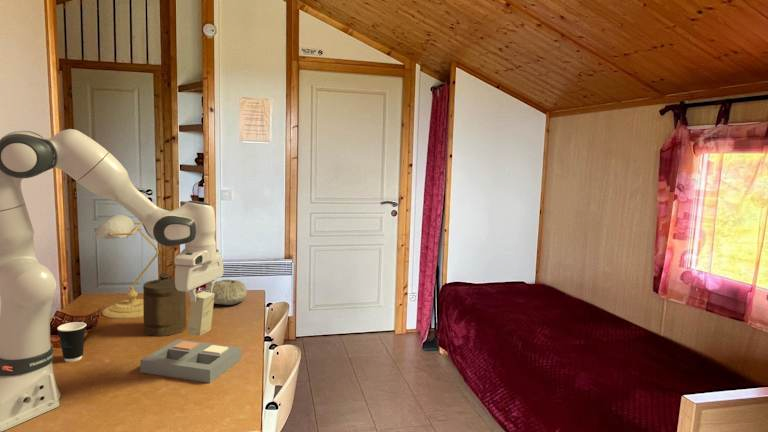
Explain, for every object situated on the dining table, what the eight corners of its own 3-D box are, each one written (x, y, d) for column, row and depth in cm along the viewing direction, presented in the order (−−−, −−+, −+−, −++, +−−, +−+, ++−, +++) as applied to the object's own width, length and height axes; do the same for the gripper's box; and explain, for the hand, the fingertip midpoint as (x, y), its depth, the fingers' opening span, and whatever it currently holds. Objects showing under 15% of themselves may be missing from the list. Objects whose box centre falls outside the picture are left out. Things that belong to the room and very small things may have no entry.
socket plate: (210, 382, 145) (209, 368, 145) (140, 372, 151) (140, 358, 150) (241, 359, 163) (241, 346, 162) (177, 350, 168) (177, 337, 167)
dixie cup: (88, 352, 164) (86, 320, 163) (87, 361, 157) (85, 328, 156) (59, 356, 160) (58, 323, 159) (57, 365, 153) (56, 331, 152)
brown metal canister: (170, 320, 197) (169, 267, 195) (194, 328, 190) (193, 272, 187) (135, 330, 185) (134, 274, 182) (160, 339, 177) (158, 280, 175)
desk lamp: (107, 301, 219) (104, 212, 214) (163, 298, 226) (162, 212, 222) (92, 324, 190) (88, 222, 185) (157, 319, 198) (155, 221, 193)
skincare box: (199, 336, 149) (203, 298, 147) (186, 333, 149) (190, 295, 148) (211, 329, 155) (215, 293, 153) (199, 326, 156) (203, 290, 154)
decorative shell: (233, 310, 212) (233, 288, 211) (197, 306, 216) (197, 284, 215) (253, 299, 229) (253, 278, 228) (219, 295, 233) (219, 275, 232)
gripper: (210, 247, 160) (211, 288, 161) (170, 259, 140) (171, 306, 142) (228, 248, 158) (228, 290, 160) (189, 261, 138) (190, 308, 140)
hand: (201, 298), depth 151 cm, fingers closed on skincare box, 6 cm apart
